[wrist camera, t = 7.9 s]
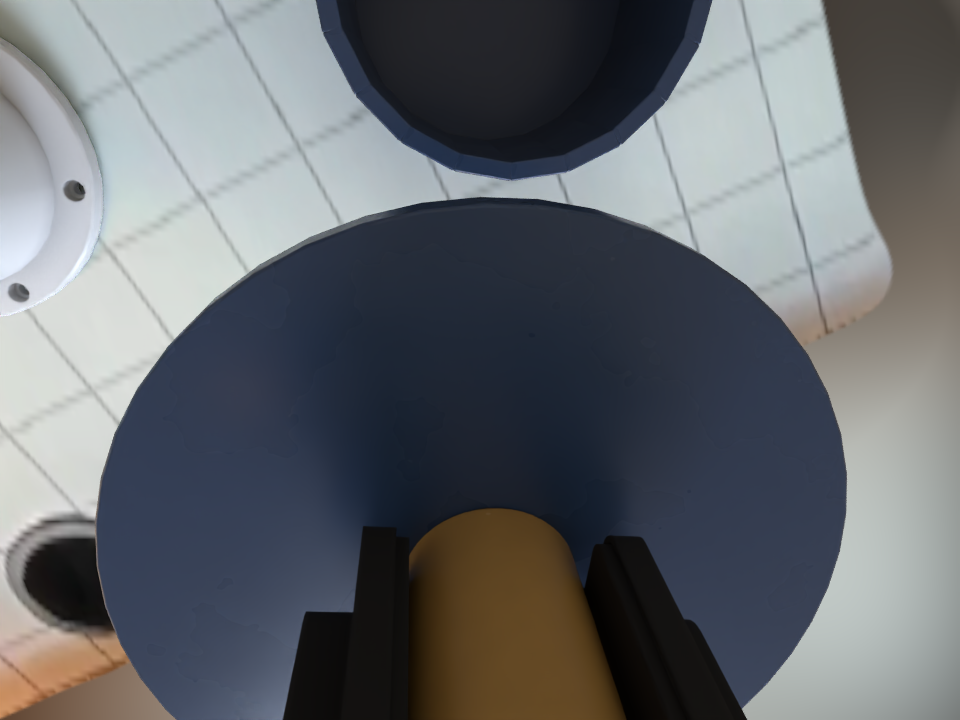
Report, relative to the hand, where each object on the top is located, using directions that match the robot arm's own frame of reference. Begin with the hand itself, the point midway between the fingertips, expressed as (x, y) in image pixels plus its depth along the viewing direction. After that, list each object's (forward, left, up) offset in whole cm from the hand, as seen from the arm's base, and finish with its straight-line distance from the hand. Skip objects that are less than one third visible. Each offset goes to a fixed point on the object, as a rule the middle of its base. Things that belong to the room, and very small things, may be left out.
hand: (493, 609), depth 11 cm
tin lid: (0, 0, -1) cm, 1 cm away
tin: (+1, +11, -23) cm, 25 cm away
